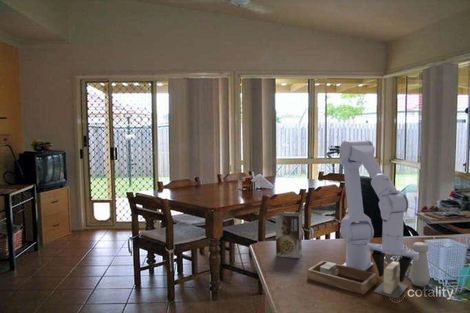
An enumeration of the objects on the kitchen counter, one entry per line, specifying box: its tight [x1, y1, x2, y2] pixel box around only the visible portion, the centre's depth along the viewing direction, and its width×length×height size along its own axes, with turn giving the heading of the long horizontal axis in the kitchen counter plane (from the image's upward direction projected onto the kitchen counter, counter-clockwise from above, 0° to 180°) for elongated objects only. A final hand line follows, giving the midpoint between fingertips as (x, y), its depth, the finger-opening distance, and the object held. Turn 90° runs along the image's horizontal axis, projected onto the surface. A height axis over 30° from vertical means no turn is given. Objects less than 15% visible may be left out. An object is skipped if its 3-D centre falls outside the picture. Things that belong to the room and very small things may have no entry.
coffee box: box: [275, 210, 303, 259], centre depth 149 cm, size 9×6×16 cm
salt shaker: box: [408, 241, 431, 288], centre depth 121 cm, size 6×6×13 cm
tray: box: [306, 260, 378, 295], centre depth 125 cm, size 11×19×3 cm, turn 50°
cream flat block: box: [383, 260, 400, 294], centre depth 118 cm, size 8×2×7 cm, turn 140°
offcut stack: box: [320, 261, 340, 277], centre depth 129 cm, size 7×4×4 cm, turn 140°
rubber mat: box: [373, 281, 409, 300], centre depth 118 cm, size 10×7×1 cm
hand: (391, 278), depth 118 cm, fingers open, 5 cm apart
